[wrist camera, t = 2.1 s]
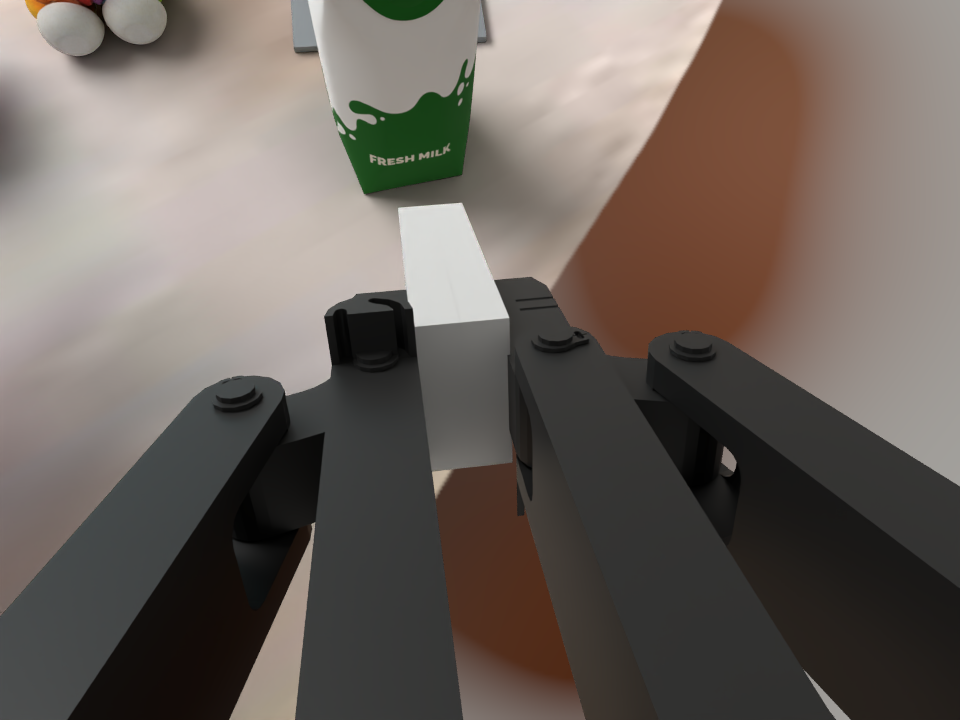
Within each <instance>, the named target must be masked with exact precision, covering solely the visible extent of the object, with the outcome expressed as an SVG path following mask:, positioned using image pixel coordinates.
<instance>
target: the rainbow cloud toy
mask: <svg viewBox="0 0 960 720" xmlns="http://www.w3.org/2000/svg"><path fill="white" fill-rule="evenodd" d="M161 1H162V0H25V2H26V5H27V7H28V9H29V11H30V12H31V14H32V15H33V16H34V17H35V18H36V19H37V26H38V29H39V31H40V33H41V35H42V36H43V38H44V39H45V40H46V41H47V42H48V43H49V44H50V45H51V46H52V47H53V48H55V49H56V50H58V51H60V52H62V53H64V54H68V55H72V56H83V55H87V54H90V53H92V52H94V51H95V50H96V49H97V48H98V47H99V46H100V45H101V43H102V41H103V38H104V34H105V31H104V24H103V22H102V21H101V19H100V18H99V17H98V16H97V13H96V5H95V3H96V4H98V5H101V4H104V5H103V7H102V12H103V17H104V20H105V22H106V24H107V26H108V27H109V28H110V29H111V30H112V31H113V32H114V33H115V34H116V35H117V36H118V37H120V38H121V39H123V40H125V41H127V42H129V43H133V44H148V43H151V42H153V41H155V40H157V39H158V38H159V37H160V36H161V35H162V33H163V32H164V30H165V27H166V22H167V14H166V10H165V8H164V6H163V5H162V4H161V3H160V2H161Z"/></svg>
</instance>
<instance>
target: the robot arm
mask: <svg viewBox="0 0 960 720" xmlns="http://www.w3.org/2000/svg"><path fill="white" fill-rule="evenodd" d="M398 214H399V224H400V235H401V245H402V255H403V266H404V276H405V287H406V290H398V291H386V292H375V293H363V294H356V295H355V296H354V297H353V298H352V299H349V300H346V301H343V302H340V303H338V304H336V305H335V306H333V307H331V308H330V309H328V311H327V313H326V314H325V316H324V318H325V324H326V331H327V337H328V343H329V350H330V356H331V362H332V369H331V378H330V379H329V380H327V381H326V382H324V383H322V384H320V385H318V386H316V387H314V388H312V389H309V390H306V391H303V392H300V393H296V394H292V395H289V396H285V391H284V389H283V387H282V385H281V383H280V382H278V381H276V380H274V379H272V378H269V377H261V376H245V377H244V376H236V377H232V379H230V378H227V379H224V380H221V381H219V382H218V383H216V384H214V385H212V386H209V387H207V388H205V389H204V390H203V391H201V392H200V393H199V394H198V395H196V396H195V397H194V398H193V399H192V400H191V401H190V402H189V403H188V405H187V406H186V407H185V408H184V409H183V410H182V411H181V413H180V414H179V415H178V416H177V417H176V418H175V419H174V420H173V422H172V423H171V424H170V425H169V426H168V427H167V428H166V429H165V431H164V432H163V433H162V434H161V435H160V436H159V437H158V439H157V440H156V441H155V442H154V443H153V444H152V445H151V446H150V448H149V449H148V450H147V451H146V452H145V453H144V454H143V456H142V457H141V458H140V459H139V460H138V461H137V462H136V463H135V465H134V466H133V467H132V468H131V469H130V470H129V471H128V473H127V474H126V475H125V476H124V477H123V478H122V479H121V480H120V482H119V483H118V484H117V485H116V486H115V487H114V488H113V490H112V491H111V492H110V493H109V494H108V495H107V496H106V497H105V499H104V500H103V501H102V502H101V503H100V504H99V505H98V506H97V508H96V509H95V510H94V511H93V512H92V513H91V514H90V516H89V517H88V518H87V519H86V520H85V521H84V522H83V523H82V525H81V526H80V527H79V528H78V529H77V530H76V531H75V533H74V534H73V535H72V536H71V537H70V538H69V539H68V540H67V542H66V543H65V544H64V545H63V546H62V547H61V548H60V550H59V551H58V552H57V553H56V554H55V555H54V556H53V557H52V559H51V560H50V561H49V562H48V563H47V564H46V565H45V567H44V568H43V569H42V570H41V571H40V572H39V573H38V574H37V576H36V577H35V578H34V579H33V580H32V581H31V582H30V584H29V585H28V586H27V587H26V588H25V589H24V590H23V591H22V593H21V594H20V595H19V596H18V597H17V598H16V599H15V600H14V602H13V603H12V604H11V605H10V606H9V607H8V608H7V610H6V611H5V612H4V613H3V614H2V615H1V616H0V720H229V719H230V716H231V714H232V712H233V710H234V707H235V705H236V703H237V701H238V699H239V696H240V694H241V692H242V690H243V687H244V685H245V683H246V681H247V679H248V676H249V674H250V672H251V670H252V668H253V665H254V663H255V661H256V659H257V656H258V654H259V652H260V650H261V648H262V645H263V643H264V641H265V639H266V636H267V634H268V632H269V630H270V628H271V625H272V623H273V621H274V619H275V616H276V614H277V612H278V610H279V608H280V605H281V603H282V601H283V599H284V596H285V594H286V592H287V590H288V588H289V585H290V583H291V581H292V579H293V577H294V574H295V572H296V570H297V568H298V565H299V563H300V561H301V559H302V557H303V554H304V552H305V550H306V548H307V545H308V543H309V541H310V537H311V532H312V526H311V524H312V523H315V522H316V523H315V533H314V543H313V552H312V562H311V571H310V581H309V591H308V600H307V610H306V620H305V629H304V639H303V648H302V658H301V668H300V677H299V687H298V696H297V706H296V716H295V720H463V716H462V708H461V699H460V692H459V685H458V684H459V683H458V676H457V668H456V660H455V652H454V644H453V636H452V628H451V620H450V612H449V604H448V596H447V589H446V581H445V572H444V564H443V557H442V549H441V540H440V533H439V525H438V517H437V509H436V501H435V493H434V485H433V477H432V471H441V470H449V469H458V468H467V467H475V466H485V465H493V464H502V463H511V462H512V441H513V444H514V447H515V450H516V453H517V454H516V455H517V511H518V512H517V513H518V516H521V515H524V509H525V510H526V513H527V517H528V520H529V524H530V527H531V531H532V534H533V538H534V541H535V545H536V548H537V552H538V555H539V559H540V562H541V566H542V569H543V572H544V576H545V579H546V583H547V586H548V590H549V593H550V597H551V600H552V604H553V607H554V611H555V614H556V618H557V621H558V624H559V628H560V632H561V635H562V639H563V642H564V645H565V649H566V653H567V656H568V660H569V663H570V667H571V670H572V674H573V677H574V680H575V684H576V688H577V691H578V695H579V698H580V702H581V705H582V708H583V712H584V715H585V719H586V720H836V719H835V718H834V717H833V715H832V714H831V713H830V711H829V710H828V708H827V707H826V705H825V704H824V702H823V700H822V699H821V697H820V696H819V694H818V692H817V691H816V689H815V688H814V686H813V684H812V683H811V681H810V680H809V678H808V677H807V675H806V673H805V672H804V670H805V671H806V672H807V673H808V674H809V675H810V677H811V678H812V679H813V680H814V681H815V682H816V683H817V684H818V685H819V686H820V687H821V688H822V689H823V691H824V692H825V693H826V694H827V695H828V696H829V697H830V698H831V699H832V700H833V701H834V702H835V703H836V704H837V705H838V706H839V708H840V709H841V710H842V711H843V712H844V713H845V714H846V715H847V716H848V717H849V718H850V719H851V720H960V486H958V485H957V484H955V483H953V482H952V481H950V480H949V479H947V478H945V477H944V476H942V475H940V474H939V473H937V472H936V471H934V470H932V469H931V468H929V467H928V466H926V465H924V464H923V463H921V462H920V461H918V460H916V459H915V458H913V457H911V456H910V455H908V454H907V453H905V452H904V451H902V450H900V449H899V448H897V447H896V446H894V445H892V444H891V443H889V442H887V441H886V440H884V439H883V438H881V437H879V436H878V435H876V434H875V433H873V432H871V431H870V430H868V429H867V428H865V427H863V426H862V425H860V424H859V423H857V422H855V421H854V420H852V419H850V418H849V417H847V416H846V415H844V414H843V413H841V412H839V411H838V410H836V409H835V408H833V407H831V406H830V405H828V404H826V403H825V402H823V401H821V400H820V399H818V398H817V397H815V396H814V395H812V394H810V393H809V392H807V391H806V390H804V389H802V388H801V387H799V386H798V385H796V384H794V383H793V382H791V381H789V380H788V379H786V378H785V377H783V376H781V375H780V374H778V373H777V372H775V371H774V370H772V369H770V368H769V367H767V366H765V365H764V364H762V363H761V362H759V361H757V360H756V359H754V358H753V357H751V356H749V355H748V354H746V353H745V352H743V351H741V350H740V349H738V348H736V347H735V346H733V345H732V344H730V343H729V342H726V341H724V340H722V339H720V338H718V337H715V336H712V335H707V334H703V333H702V332H699V331H691V332H689V331H679V332H674V333H666V334H664V335H661V336H658V337H656V338H654V339H653V340H652V341H651V342H650V343H649V348H648V359H639V358H624V357H616V356H609V355H606V354H605V353H604V351H603V350H602V348H601V346H600V345H599V343H598V342H597V340H596V339H595V338H594V337H593V336H592V335H591V334H590V333H589V332H586V331H584V330H581V329H579V328H576V327H570V325H569V323H568V322H567V320H566V318H565V316H564V315H563V313H562V311H561V310H560V308H559V307H558V304H557V303H556V301H555V300H554V299H553V296H552V294H551V292H550V291H549V289H548V287H547V286H546V285H545V284H543V283H541V282H539V281H537V280H536V279H534V278H532V277H525V278H514V279H502V280H494V279H493V277H492V274H491V272H490V270H489V267H488V265H487V262H486V260H485V258H484V255H483V253H482V250H481V248H480V245H479V243H478V241H477V238H476V236H475V233H474V231H473V228H472V226H471V224H470V221H469V219H468V216H467V214H466V211H465V209H464V207H463V204H462V203H453V204H440V205H427V206H414V207H400V208H398ZM724 446H725V447H726V448H727V449H728V450H729V451H730V452H731V453H732V454H733V456H734V458H735V460H736V461H737V464H736V469H735V471H734V472H733V471H731V470H729V469H728V468H727V467H726V466H725V465H723V464H722V463H721V461H722V455H723V448H724ZM803 669H804V670H803Z"/></svg>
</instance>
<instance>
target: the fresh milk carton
mask: <svg viewBox="0 0 960 720" xmlns="http://www.w3.org/2000/svg"><path fill="white" fill-rule="evenodd" d="M480 2H481V0H308V4H309V9H310V13H311V18H312V23H313V28H314V32H315V37H316V42H317V47H318V51H319V56H320V61H321V65H322V70H323V75H324V79H325V84H326V89H327V93H328V97H329V100H330V104H331V108H332V112H333V115H334V119H335V122H336V125H337V128H338V131H339V135H340V137H341V140H342V142H343V144H344V147H345V149H346V152H347V154H348V156H349V159H350V161H351V163H352V166H353V168H354V170H355V173H356V175H357V178H358V180H359V183H360V185H361V188H362V190H363V193H364V194H367V193H372V192H377V191H382V190H387V189H392V188H397V187H402V186H407V185H412V184H417V183H423V182H428V181H433V180H438V179H443V178H448V177H453V176H458V175H462V171H463V164H464V157H465V149H466V143H467V136H468V129H469V122H470V113H471V103H472V93H473V82H474V71H475V59H476V48H477V37H478V26H479V14H480Z"/></svg>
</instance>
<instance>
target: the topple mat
mask: <svg viewBox="0 0 960 720" xmlns="http://www.w3.org/2000/svg"><path fill="white" fill-rule="evenodd" d="M291 10H292V26H293V42H294V50H295V52H308V51H318V47H317V42H316V37H315V32H314V28H313V23H312V18H311V13H310V9H309V4H308V0H291ZM477 42H486V30H485V24H484V17H483V11H482V5H481V2H480V14H479V26H478V37H477Z"/></svg>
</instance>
